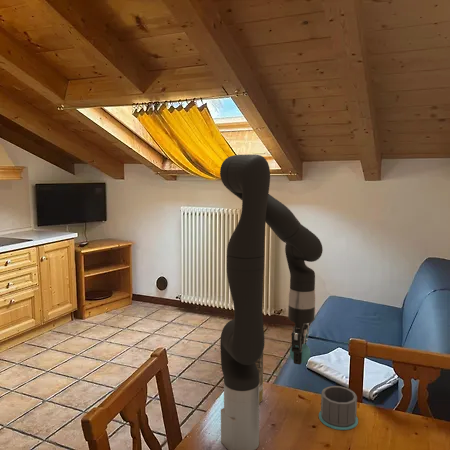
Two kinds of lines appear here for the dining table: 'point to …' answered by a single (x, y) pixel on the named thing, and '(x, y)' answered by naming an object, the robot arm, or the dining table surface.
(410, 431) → the dining table surface
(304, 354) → the ball
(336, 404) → the grey ribbed round container
